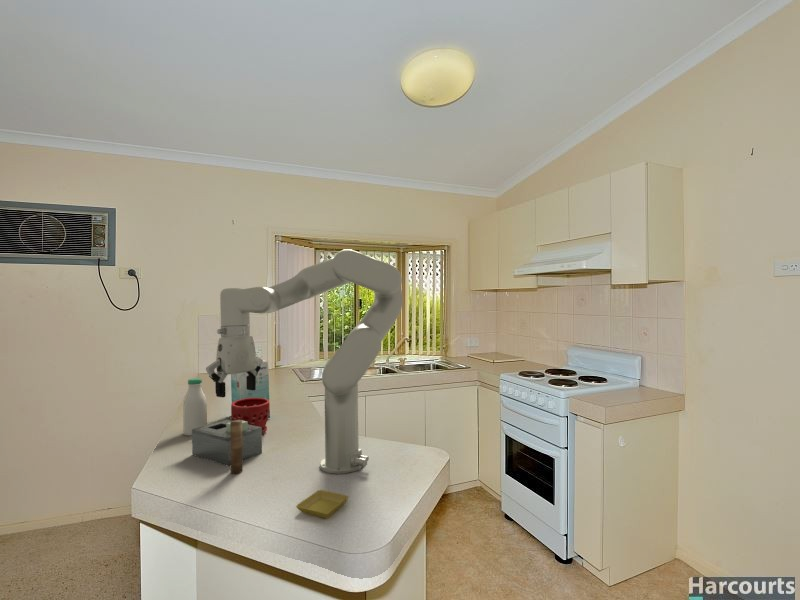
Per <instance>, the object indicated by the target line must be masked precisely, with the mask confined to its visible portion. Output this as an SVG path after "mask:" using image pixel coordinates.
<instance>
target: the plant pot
mask: <svg viewBox="0 0 800 600" xmlns="http://www.w3.org/2000/svg"><path fill="white" fill-rule="evenodd" d="M230 404H231V405H230V406H231V407H230V414H231V416H230V417H231V421H234V420H242V421H247V422H248V424H249V425H253V426H258V427H262V435H263V434H265V433H266V432H267V430H268V427H267V423H268V420H269V418H268V416H269V407H270V404H271V403H270V399H269V400H268V399H264V398H246V399H241V400H237V401H235V402H233V403H232V402H231V403H230ZM245 405H246V407H244V406H245ZM254 405H257V406H254Z"/></svg>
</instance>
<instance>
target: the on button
mask: <svg viewBox="0 0 800 600" xmlns="http://www.w3.org/2000/svg"><path fill="white" fill-rule="evenodd" d="M246 430H248V422H247V421H242V432H243V431H246ZM226 432H228V433H230V422H229V423H226Z"/></svg>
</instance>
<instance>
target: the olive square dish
mask: <svg viewBox="0 0 800 600" xmlns="http://www.w3.org/2000/svg"><path fill="white" fill-rule="evenodd" d="M349 497H350V496H349V495H346V494H341V493H336V492H333V491H329V490H328V491H327V490H323V489H318V490H316V491H315V492H314V493H312V494H311V495H309V496H308V497H306V498H305V499H304V500H302V501H301V502H299V503H297V504H296V506H295V507H296V508H297V510H299V511H300V512H301V513H303V514H306V515H310V516H315V517H318V518H322V519H328V518H329V517H331V516H332V515H333V514H334V513H335V512H336V511H338V510H339V509H340V508H341V507H343V505H344V504H345V503H346V502H347V501H348V499H349Z"/></svg>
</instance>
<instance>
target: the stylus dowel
mask: <svg viewBox="0 0 800 600" xmlns="http://www.w3.org/2000/svg"><path fill="white" fill-rule="evenodd" d="M230 421H231V422H230V437H231V465H230V474H231V475H239V474H241V473H243V460H242V420H234V421H232V420H230Z"/></svg>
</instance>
